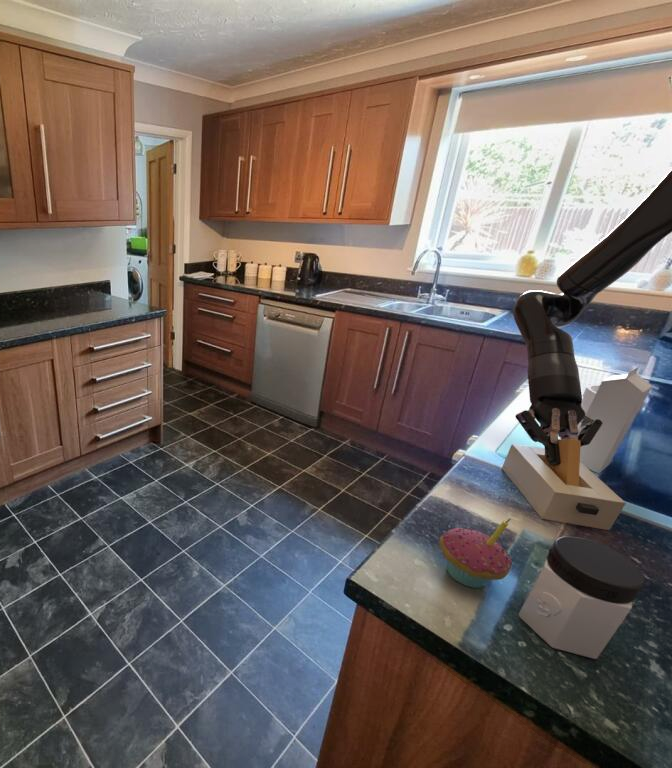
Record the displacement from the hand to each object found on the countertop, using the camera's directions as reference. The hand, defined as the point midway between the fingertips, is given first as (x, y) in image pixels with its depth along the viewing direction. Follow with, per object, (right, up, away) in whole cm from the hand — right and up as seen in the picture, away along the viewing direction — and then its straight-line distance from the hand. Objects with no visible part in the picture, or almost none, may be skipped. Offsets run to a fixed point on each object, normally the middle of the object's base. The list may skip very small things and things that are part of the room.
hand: (562, 465), depth 79 cm
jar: (-22, -17, -23) cm, 36 cm away
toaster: (0, -6, +2) cm, 7 cm away
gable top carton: (+26, +1, +21) cm, 33 cm away
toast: (-1, -4, 0) cm, 4 cm away
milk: (+18, -2, +13) cm, 22 cm away
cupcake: (-29, -14, -15) cm, 36 cm away
